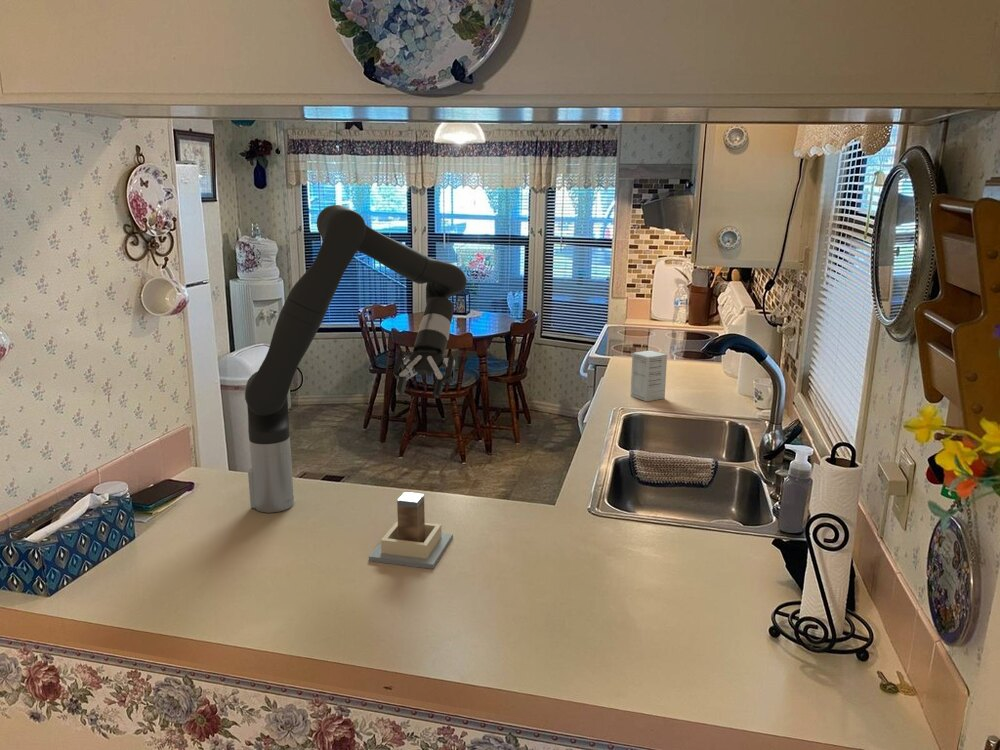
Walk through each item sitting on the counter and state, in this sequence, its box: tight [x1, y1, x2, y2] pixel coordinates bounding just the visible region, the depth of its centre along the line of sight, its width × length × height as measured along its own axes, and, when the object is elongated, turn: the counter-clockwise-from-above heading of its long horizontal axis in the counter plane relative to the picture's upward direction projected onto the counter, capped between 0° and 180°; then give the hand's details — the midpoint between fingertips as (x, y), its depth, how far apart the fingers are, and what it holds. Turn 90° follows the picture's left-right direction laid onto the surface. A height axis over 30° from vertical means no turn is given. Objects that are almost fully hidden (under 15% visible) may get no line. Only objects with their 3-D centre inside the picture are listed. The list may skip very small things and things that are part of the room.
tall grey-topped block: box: [396, 491, 426, 543], centre depth 155 cm, size 4×4×11 cm
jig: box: [368, 519, 454, 570], centre depth 156 cm, size 14×14×4 cm
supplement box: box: [630, 350, 668, 402], centre depth 271 cm, size 10×9×17 cm
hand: (418, 394), depth 169 cm, fingers open, 8 cm apart
